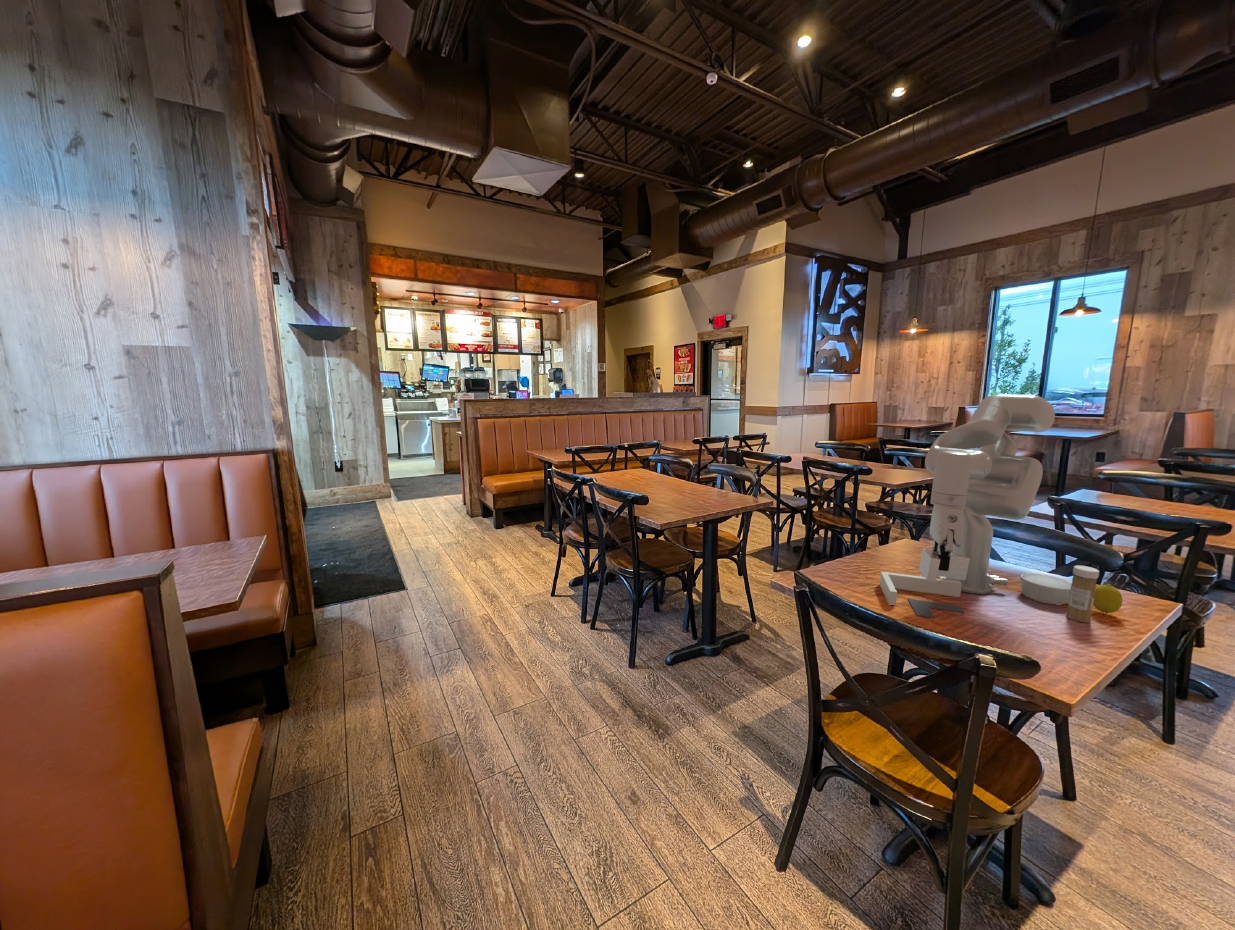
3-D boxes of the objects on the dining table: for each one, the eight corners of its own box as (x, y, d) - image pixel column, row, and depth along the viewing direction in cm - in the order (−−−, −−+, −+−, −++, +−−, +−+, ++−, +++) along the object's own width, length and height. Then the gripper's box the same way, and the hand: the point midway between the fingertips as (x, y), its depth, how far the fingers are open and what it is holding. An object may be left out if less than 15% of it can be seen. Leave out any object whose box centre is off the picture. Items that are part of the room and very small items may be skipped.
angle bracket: (962, 577, 122) (967, 556, 121) (973, 589, 115) (978, 566, 114) (918, 569, 126) (922, 548, 125) (926, 580, 118) (931, 557, 117)
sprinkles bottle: (1095, 622, 117) (1104, 570, 115) (1081, 624, 116) (1090, 572, 114) (1073, 613, 122) (1082, 564, 119) (1060, 615, 121) (1068, 565, 118)
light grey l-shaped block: (958, 594, 132) (959, 581, 132) (976, 618, 119) (979, 603, 118) (879, 584, 139) (880, 571, 138) (888, 605, 125) (890, 591, 125)
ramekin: (1011, 587, 138) (1014, 570, 137) (1060, 593, 134) (1063, 576, 133) (1027, 603, 128) (1030, 584, 127) (1080, 610, 123) (1083, 591, 123)
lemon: (1114, 620, 118) (1120, 590, 117) (1085, 611, 123) (1090, 582, 122) (1123, 615, 121) (1128, 586, 119) (1094, 607, 125) (1099, 578, 124)
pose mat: (959, 606, 125) (959, 605, 125) (973, 624, 116) (973, 622, 116) (907, 599, 129) (907, 598, 129) (916, 615, 120) (916, 614, 120)
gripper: (977, 507, 112) (966, 581, 114) (955, 495, 126) (946, 560, 129) (940, 504, 114) (930, 576, 117) (923, 492, 129) (915, 557, 132)
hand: (939, 567), depth 123 cm, fingers closed on angle bracket
